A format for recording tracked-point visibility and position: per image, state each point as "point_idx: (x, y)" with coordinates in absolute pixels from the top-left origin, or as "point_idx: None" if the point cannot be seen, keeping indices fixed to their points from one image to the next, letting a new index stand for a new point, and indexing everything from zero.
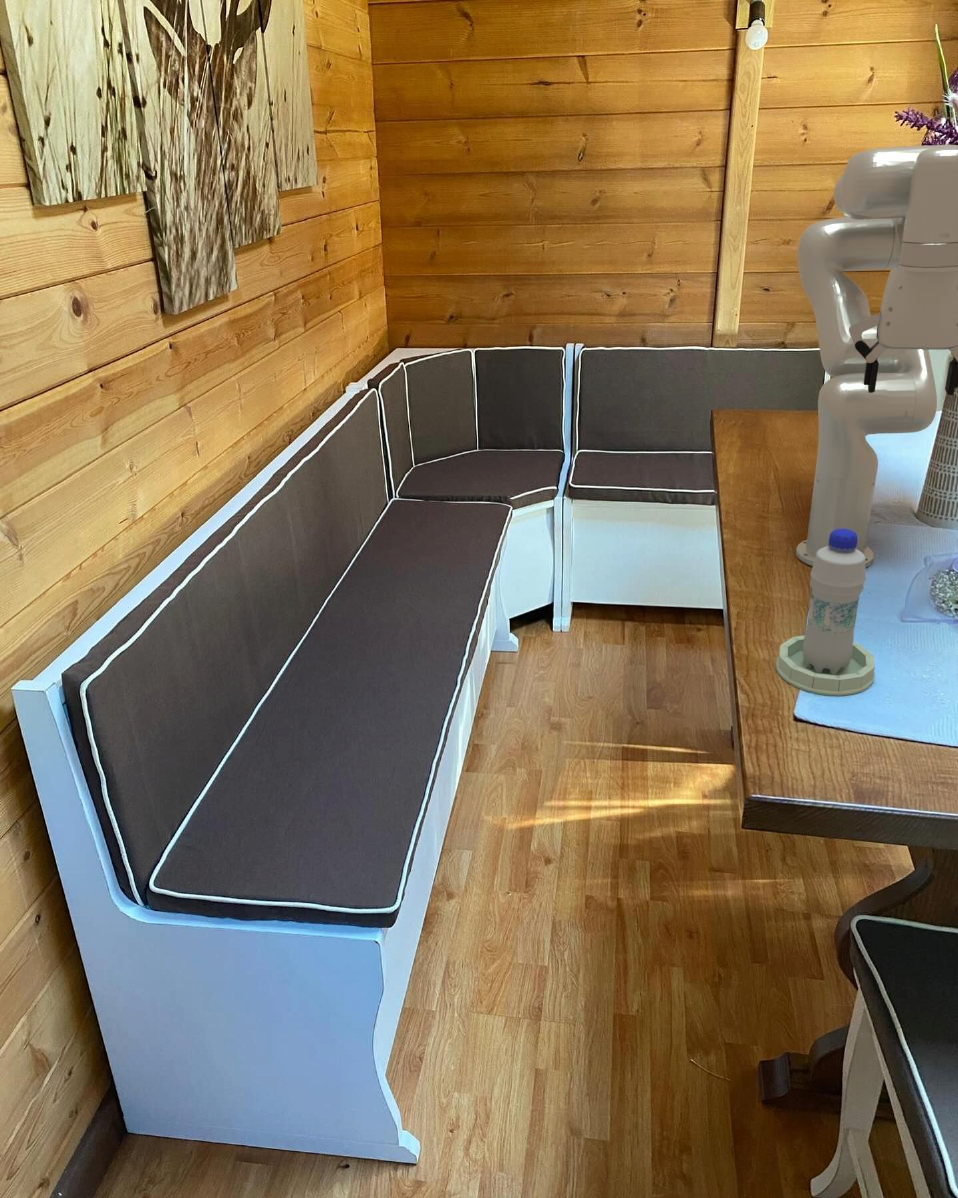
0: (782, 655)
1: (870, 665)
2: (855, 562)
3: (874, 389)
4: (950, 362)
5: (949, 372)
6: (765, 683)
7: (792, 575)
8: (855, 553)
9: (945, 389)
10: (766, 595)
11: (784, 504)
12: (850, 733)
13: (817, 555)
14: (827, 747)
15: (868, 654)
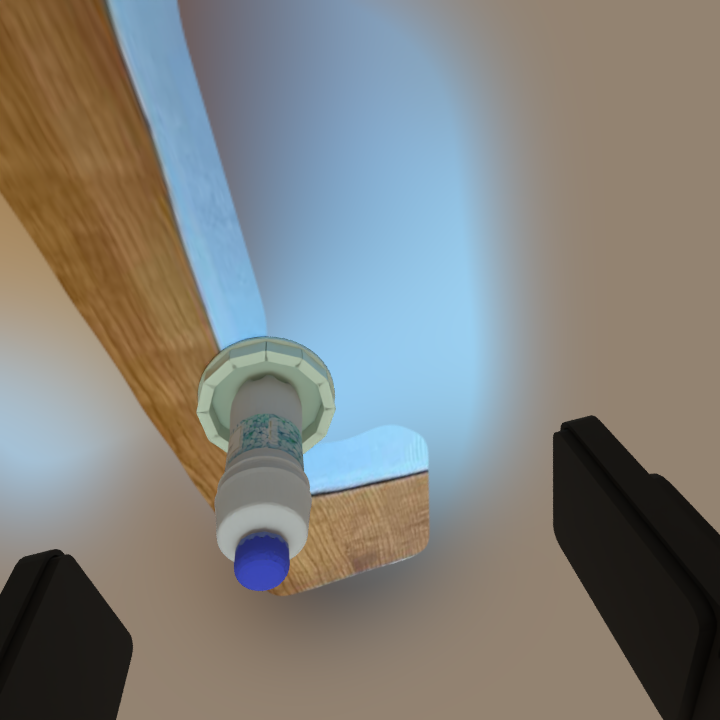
0: (211, 436)
1: (329, 407)
2: (296, 554)
3: (127, 661)
4: (690, 642)
5: (630, 590)
6: (209, 455)
7: (59, 24)
8: (290, 547)
9: (555, 455)
10: (66, 176)
11: None
12: (331, 495)
13: (223, 553)
14: (315, 524)
15: (321, 380)
